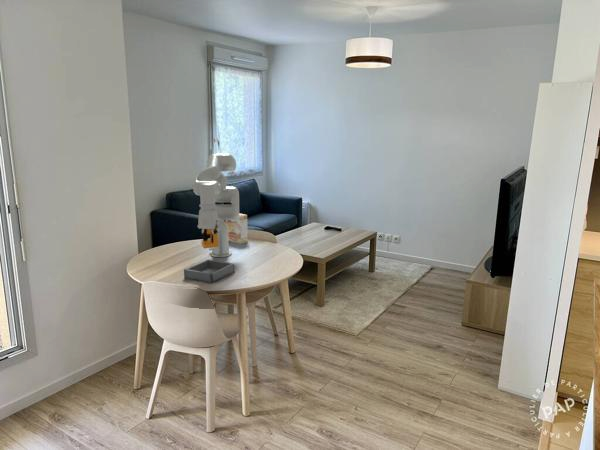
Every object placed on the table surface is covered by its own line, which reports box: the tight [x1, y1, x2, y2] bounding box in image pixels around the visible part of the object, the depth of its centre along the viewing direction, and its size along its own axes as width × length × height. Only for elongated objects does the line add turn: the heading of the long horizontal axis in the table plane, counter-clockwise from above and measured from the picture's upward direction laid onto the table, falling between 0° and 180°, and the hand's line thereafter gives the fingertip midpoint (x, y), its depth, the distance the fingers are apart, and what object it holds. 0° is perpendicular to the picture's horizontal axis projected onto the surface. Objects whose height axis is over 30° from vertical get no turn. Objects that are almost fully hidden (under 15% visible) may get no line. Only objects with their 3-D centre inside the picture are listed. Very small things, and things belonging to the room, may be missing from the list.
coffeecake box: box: [225, 212, 249, 245], centre depth 306 cm, size 15×7×20 cm, turn 50°
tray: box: [183, 259, 235, 285], centre depth 237 cm, size 18×20×5 cm
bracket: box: [200, 227, 218, 249], centre depth 233 cm, size 11×7×12 cm, turn 21°
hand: (209, 240), depth 234 cm, fingers closed on bracket, 4 cm apart
